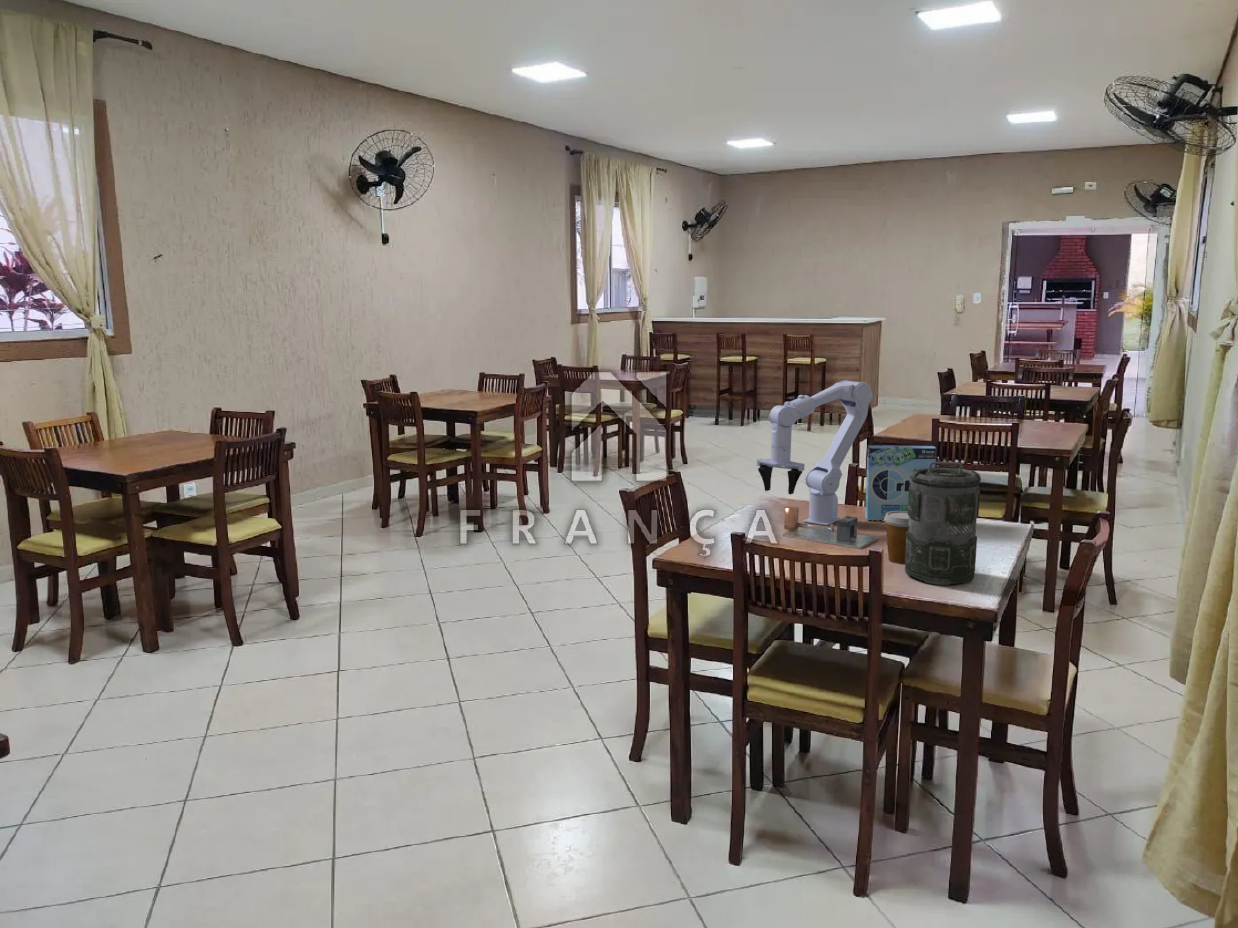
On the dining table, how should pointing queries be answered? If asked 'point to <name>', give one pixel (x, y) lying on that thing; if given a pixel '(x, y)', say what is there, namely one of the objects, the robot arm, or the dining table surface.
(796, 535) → the grey plate
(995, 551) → the dining table surface
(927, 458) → the gum box
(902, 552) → the disposable coffee cup
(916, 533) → the canister
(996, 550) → the dining table surface
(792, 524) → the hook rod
